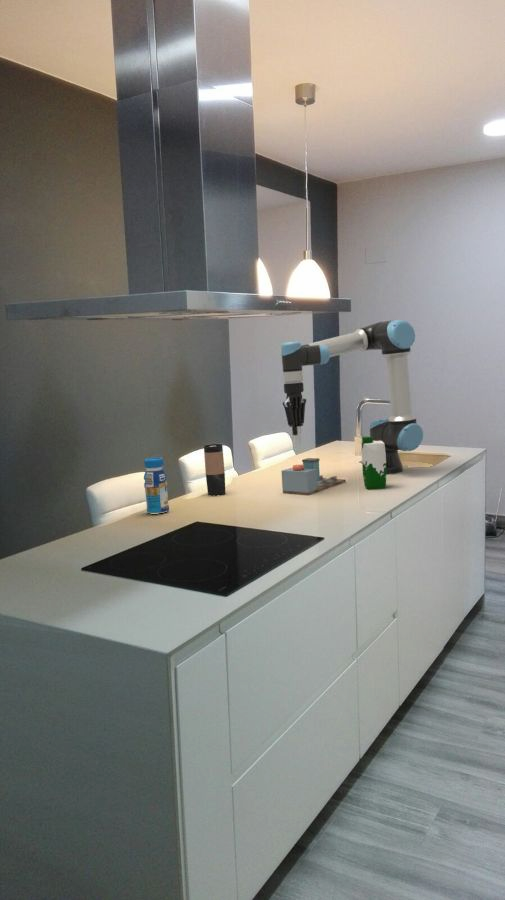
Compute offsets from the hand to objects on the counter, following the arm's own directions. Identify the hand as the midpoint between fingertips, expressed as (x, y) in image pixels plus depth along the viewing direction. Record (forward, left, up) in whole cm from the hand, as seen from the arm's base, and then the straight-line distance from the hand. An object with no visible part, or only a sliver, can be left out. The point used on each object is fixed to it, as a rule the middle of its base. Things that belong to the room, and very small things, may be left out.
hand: (297, 443), depth 280 cm
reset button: (0, 0, -13) cm, 13 cm away
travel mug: (+14, -31, -20) cm, 40 cm away
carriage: (-9, 0, -18) cm, 20 cm away
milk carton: (-18, +23, -20) cm, 35 cm away
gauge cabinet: (0, 0, -20) cm, 20 cm away
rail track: (-11, 0, -20) cm, 22 cm away
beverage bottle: (+48, -30, -20) cm, 60 cm away
